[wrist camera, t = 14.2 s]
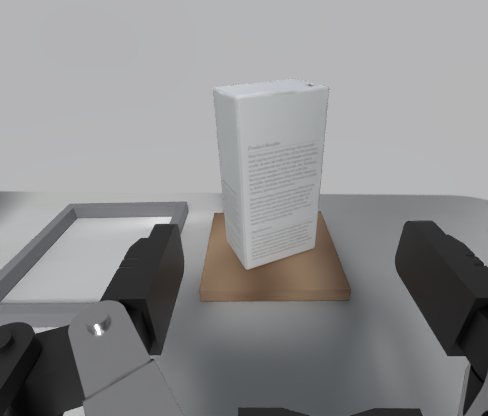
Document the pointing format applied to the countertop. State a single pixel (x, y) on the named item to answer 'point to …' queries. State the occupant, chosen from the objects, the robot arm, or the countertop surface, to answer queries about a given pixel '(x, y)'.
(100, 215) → the grey flat rectangular frame
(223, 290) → the walnut board
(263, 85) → the skincare box
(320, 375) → the countertop surface
